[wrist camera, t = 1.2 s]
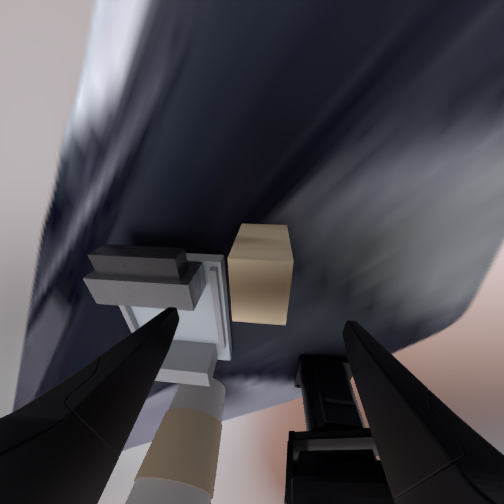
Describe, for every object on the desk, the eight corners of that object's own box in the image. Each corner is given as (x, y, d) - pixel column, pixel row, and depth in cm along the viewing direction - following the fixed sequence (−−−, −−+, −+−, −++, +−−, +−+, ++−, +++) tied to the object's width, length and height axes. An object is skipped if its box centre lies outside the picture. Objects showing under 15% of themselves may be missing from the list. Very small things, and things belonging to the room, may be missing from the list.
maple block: (282, 275, 17) (285, 325, 12) (243, 273, 17) (232, 321, 13) (286, 224, 15) (293, 261, 10) (241, 223, 15) (227, 258, 10)
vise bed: (232, 351, 23) (224, 390, 20) (149, 343, 24) (126, 379, 21) (223, 255, 17) (209, 286, 13) (109, 249, 18) (63, 277, 14)
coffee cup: (182, 362, 26) (91, 580, 13) (241, 383, 27) (213, 602, 14) (169, 389, 30) (91, 573, 17) (221, 406, 31) (184, 590, 18)
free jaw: (206, 285, 17) (193, 311, 14) (123, 280, 17) (96, 303, 15) (199, 242, 15) (183, 263, 12) (105, 238, 15) (71, 257, 13)
